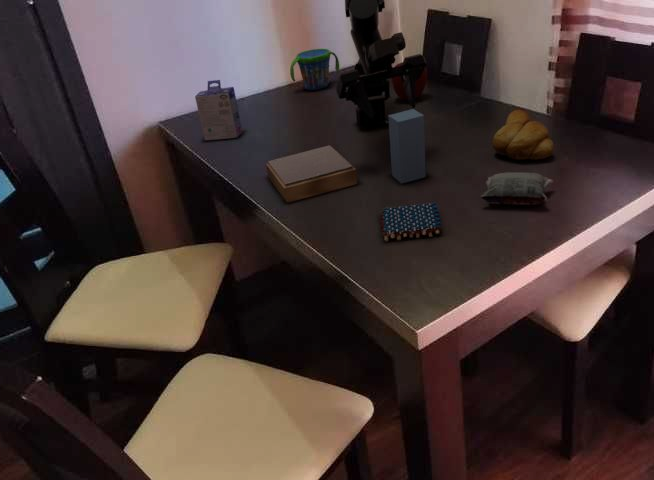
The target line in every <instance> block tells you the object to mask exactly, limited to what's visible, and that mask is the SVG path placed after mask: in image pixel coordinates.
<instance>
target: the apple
mask: <svg viewBox="0 0 654 480" xmlns="http://www.w3.org/2000/svg"><path fill="white" fill-rule="evenodd" d="M402 63H403V61H402V62H399V63H397V64H395V66H394V67H397V66H401V65H402ZM390 79H391V84H392V87H393V90H394V92H395V95H397V97H398V98H399V99H401V101H405V102H409V101H408V98H407V96H406V93H405V91H404V89H403V86H402V85H403V82H404V81H402V80H401V78H400V76H398V77H394V78H390ZM427 79H428V69H427V66H426V67H425V69H424V71H423V73H422V75H421V77H420V78H419V79H418V80H417V81H416V100H417V99H418V98H419V97H420V96H421V95H422V93H423V92H424V90H425V88H426V86H427V85H426V84H427Z"/></svg>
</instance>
